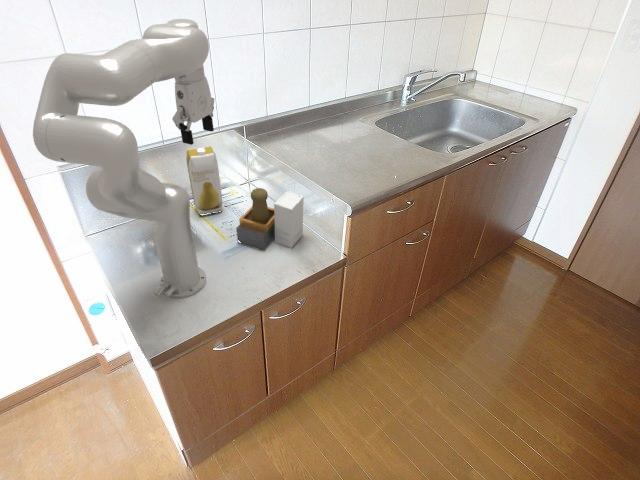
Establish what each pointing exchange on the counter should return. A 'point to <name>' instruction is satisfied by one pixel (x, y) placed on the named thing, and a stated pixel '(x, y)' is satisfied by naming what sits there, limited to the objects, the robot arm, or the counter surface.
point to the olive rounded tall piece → (260, 206)
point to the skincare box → (288, 219)
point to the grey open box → (256, 231)
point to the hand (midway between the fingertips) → (198, 136)
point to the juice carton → (204, 179)
